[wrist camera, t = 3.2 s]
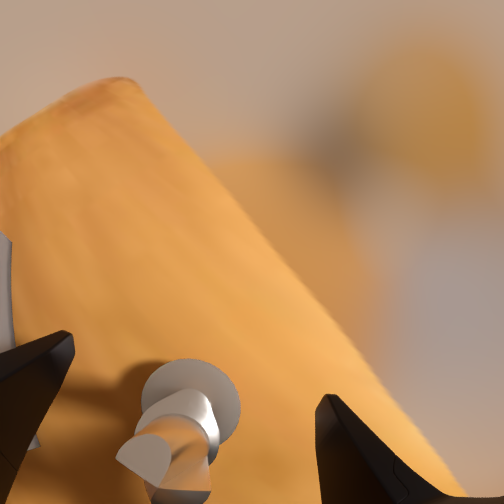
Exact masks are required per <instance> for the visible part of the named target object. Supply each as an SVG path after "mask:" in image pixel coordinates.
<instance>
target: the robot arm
mask: <svg viewBox="0 0 504 504" xmlns="http://www.w3.org/2000/svg"><path fill="white" fill-rule="evenodd" d="M74 356H75V346H74V339H73V335H72V334H71V333H69V332H67V331H65V330H61V331H58V332H55V333H53V334H50V335H47V336H45V337H42V338H39V339H37V340H34V341H31V342H29V343H26V344H23V345H21V346H18V347H15V348H13V349H10V350H7V351H5V352H2V353H0V504H5V502H6V500H7V497H8V494H9V492H10V489H11V487H12V484H13V482H14V480H15V477H16V475H17V471H18V470H19V468H20V465H21V463H22V461H23V459H24V457H25V454H26V452H27V450H28V448H29V446H30V444H31V442H32V440H33V438H34V436H35V434H36V432H37V430H38V428H39V426H40V424H41V422H42V420H43V418H44V417H45V415H46V413H47V411H48V409H49V407H50V406H51V404H52V402H53V400H54V398H55V397H56V395H57V393H58V391H59V389H60V387H61V385H62V383H63V381H64V378H65V376H66V374H67V372H68V369H69V367H70V365H71V363H72V361H73V358H74ZM315 448H316V458H317V466H318V474H319V482H320V491H321V500H322V504H504V496H501V497H493V498H492V497H491V498H473V497H454V496H449V495H446V494H444V493H442V492H441V491H439V490H438V489H437V488H435V487H434V486H433V485H431V484H430V483H428V482H427V481H426V480H425V479H423V478H422V477H421V476H419V475H418V474H417V473H416V472H414V471H413V470H412V469H411V468H410V467H409V466H407V465H406V464H405V463H404V462H403V461H402V460H401V459H400V458H399V457H398V456H397V455H395V453H394V452H393V451H392V450H391V449H390V448H389V447H388V446H387V445H386V444H385V443H384V442H383V441H382V440H381V439H380V438H379V437H378V436H377V435H376V434H375V433H374V432H373V431H372V430H371V429H370V428H369V427H368V426H367V425H366V424H365V423H364V422H363V421H362V420H361V419H360V418H359V417H358V416H357V415H356V414H355V413H354V412H353V411H352V410H351V409H350V408H349V407H348V406H347V405H346V404H345V403H344V402H343V401H342V400H341V399H340V398H339V396H337V395H335V394H325V395H324V396H323V398H322V400H321V401H320V403H319V405H318V406H317V408H316V411H315Z"/></svg>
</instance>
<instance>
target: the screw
mask: <svg viewBox="0 0 504 504" xmlns="http://www.w3.org/2000/svg"><path fill="white" fill-rule="evenodd" d="M141 407H142V413H143V415H142V417H141V419H140V420H139V422H138V424H137V426H136V429H135V433H134V436H133V437H132V438H131V439H129V440H128V441H127V442H126V443H125V444H124V445H123V446H122V447H121V448H120V449H119V451H118V453H117V455H116V458H115V459H116V460H118V461H119V462H120V463H122V464H123V465H124V466H126V467H127V468H128V469H130V470H131V471H133V472H134V473H136V474H137V475H139V476H140V477H141V478H143V479H144V483H145V487H146V491H147V494H148V497H149V499H150V501H151V504H203V503H204V502H205V501H206V500H207V499H208V497H209V495H210V493H211V483H210V475H209V465H210V464H211V463H212V462H213V461H214V459H215V458H216V455H217V453H218V448H219V445H220V444H222V443H223V442H224V441H226V440H227V439H228V438H229V437H230V435H231V434H232V433H233V432H234V430H235V428H236V426H237V424H238V421H239V417H240V399H239V395H238V392H237V390H236V388H235V386H234V384H233V382H232V381H231V380H230V379H229V377H228V376H227V375H226V374H225V373H224V372H222V371H221V370H220V369H219V368H217V367H215V366H214V365H212V364H210V363H207V362H204V361H201V360H196V359H178V360H175V361H171V362H168V363H166V364H164V365H163V366H161V367H159V368H158V369H157V370H156V371H155V372H153V373H152V374H151V376H150V377H149V379H148V380H147V382H146V383H145V386H144V389H143V391H142V397H141Z"/></svg>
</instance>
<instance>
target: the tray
mask: <svg viewBox="0 0 504 504" xmlns="http://www.w3.org/2000/svg"><path fill="white" fill-rule="evenodd" d="M11 252H12V242H11V241H10V240H9V239H8V238H7V237H6V236H5V235H4V234H3V233H2V232H1V231H0V353H2V352H5V351H7V350H10V349H13V348H15V347H16V346H15V338H14V329H13V318H12V302H11ZM38 447H40V444H39V441H38V439H37V436H36V434H35V436H34V438H33V440H32V442H31V444H30V446H29V448H28V450H31V449H35V448H38ZM28 450H27V451H28Z"/></svg>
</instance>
